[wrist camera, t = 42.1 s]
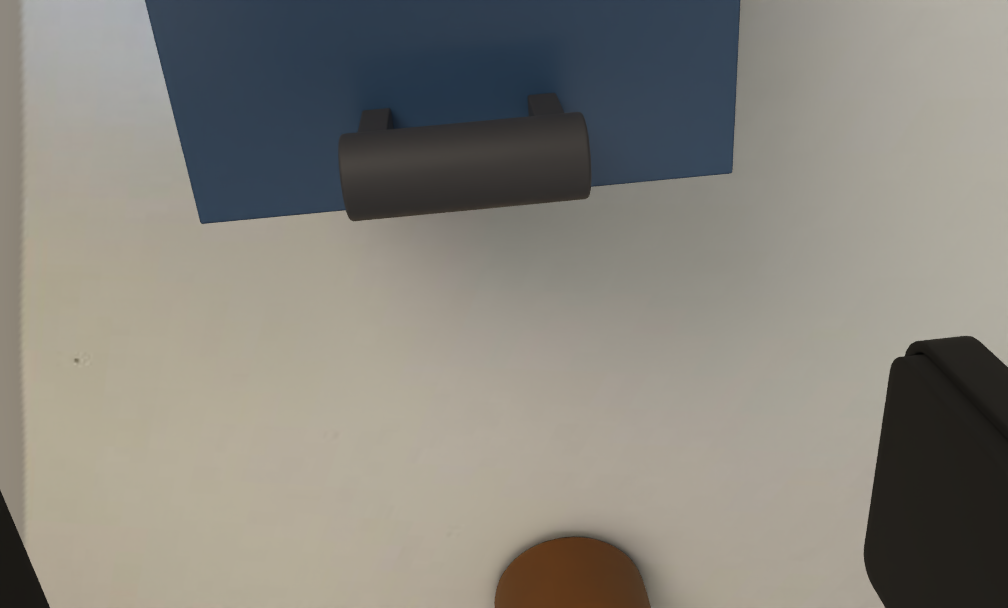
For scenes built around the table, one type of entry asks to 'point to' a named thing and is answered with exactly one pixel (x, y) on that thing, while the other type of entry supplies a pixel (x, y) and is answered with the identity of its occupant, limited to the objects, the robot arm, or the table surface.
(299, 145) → the cooler lid
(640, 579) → the mug
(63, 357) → the table surface
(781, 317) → the table surface
